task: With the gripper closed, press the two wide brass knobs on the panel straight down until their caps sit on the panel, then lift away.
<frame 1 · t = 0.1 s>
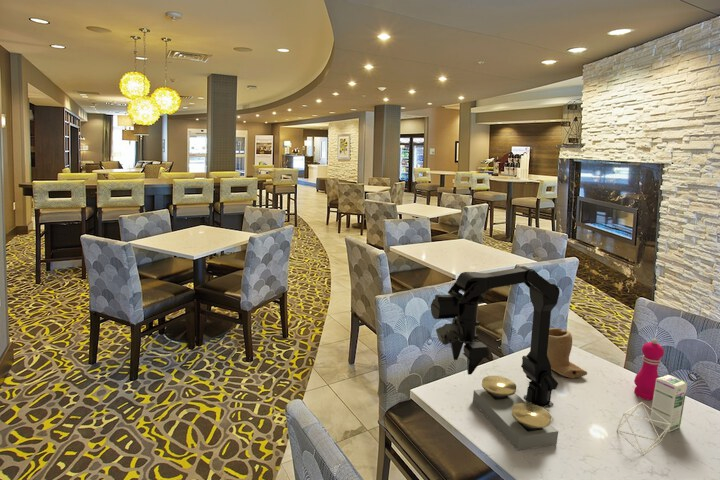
hand: (462, 366, 135), 15 cm above the table, tool pointing down, fingers open, 9 cm apart
knob 2: (530, 420, 125), point 5 cm above the table, slide at 0.0 cm
syrup box: (663, 425, 135), on the table
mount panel: (511, 421, 134), on the table
pepper mill: (644, 395, 152), on the table
knob 1: (498, 390, 140), point 5 cm above the table, slide at 0.0 cm
tan boot: (558, 370, 167), on the table
geometric polyhedron: (639, 442, 127), on the table
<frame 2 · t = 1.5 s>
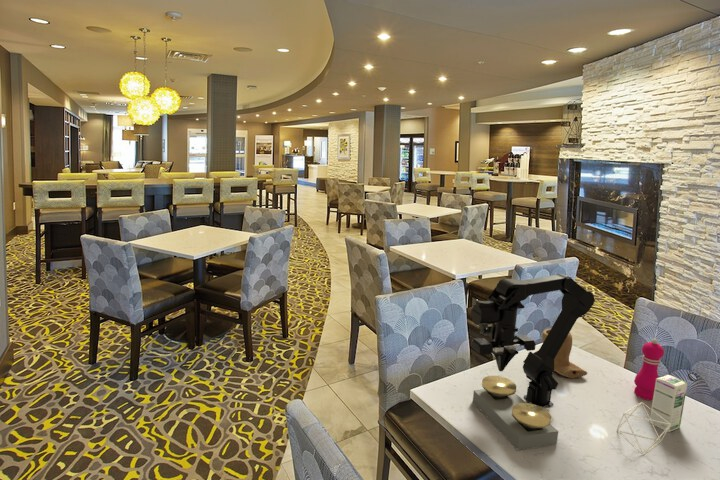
hand: (500, 370, 139), 12 cm above the table, tool pointing down, fingers closed
nothing on the table moved.
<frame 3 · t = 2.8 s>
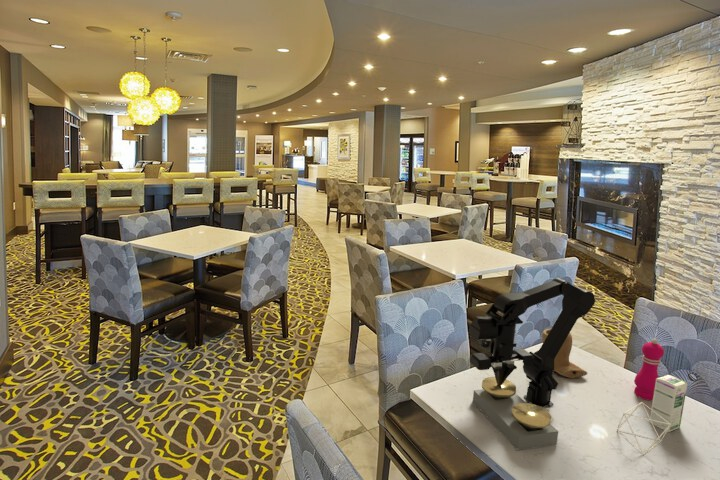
hand: (499, 385, 140), 7 cm above the table, tool pointing down, fingers closed, pressing on knob 1
knob 1: (498, 392, 140), point 5 cm above the table, slide at 0.5 cm, touching gripper
everything else where it was.
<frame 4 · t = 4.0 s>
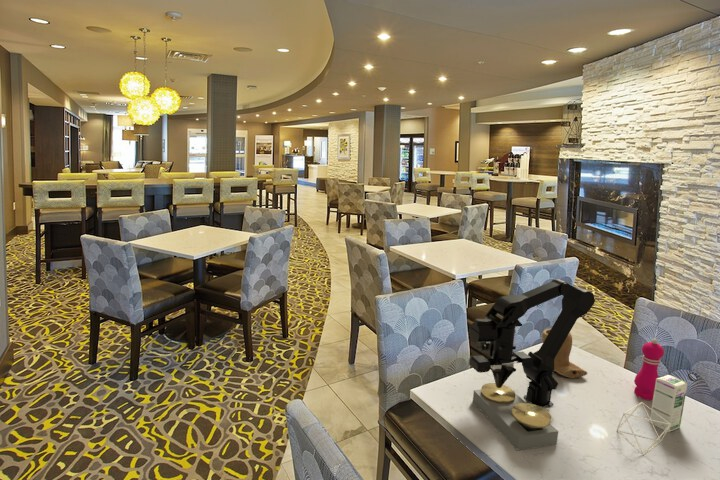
hand: (498, 387, 140), 6 cm above the table, tool pointing down, fingers closed
knob 1: (497, 398, 141), point 3 cm above the table, slide at 2.5 cm, touching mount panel
everything else where it was.
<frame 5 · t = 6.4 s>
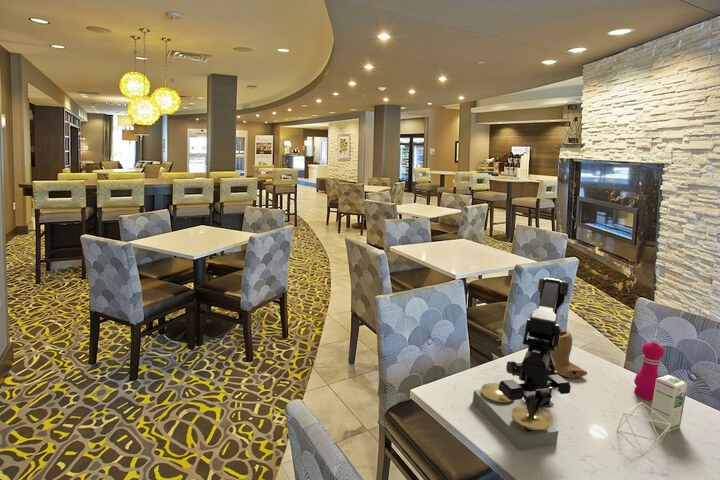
hand: (531, 415, 125), 7 cm above the table, tool pointing down, fingers closed, pressing on knob 2
knob 2: (530, 423, 125), point 5 cm above the table, slide at 0.8 cm, touching gripper
everything else where it was.
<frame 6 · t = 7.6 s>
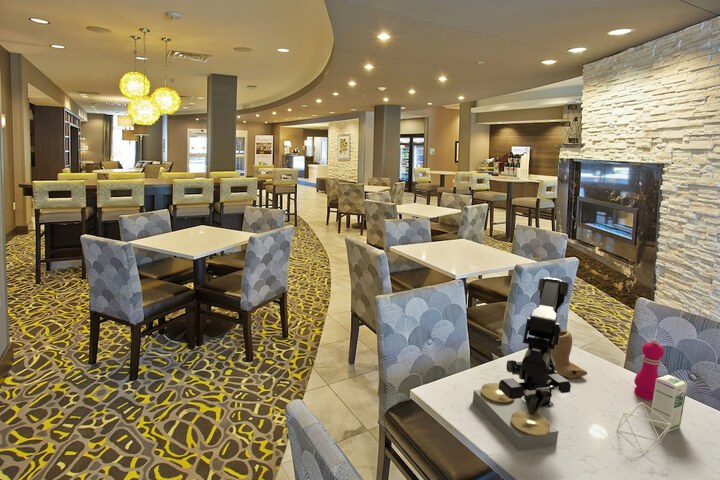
hand: (531, 414, 125), 7 cm above the table, tool pointing down, fingers closed
knob 2: (529, 428, 126), point 3 cm above the table, slide at 2.5 cm
everything else where it was.
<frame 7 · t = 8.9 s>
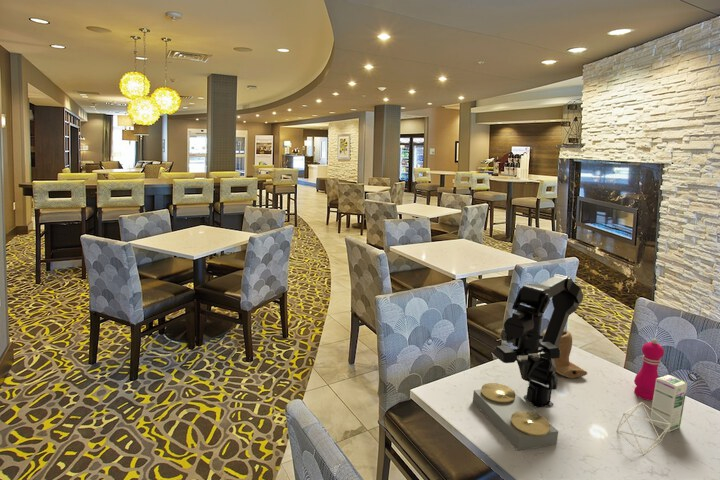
hand: (523, 379, 134), 12 cm above the table, tool pointing down, fingers closed
nothing on the table moved.
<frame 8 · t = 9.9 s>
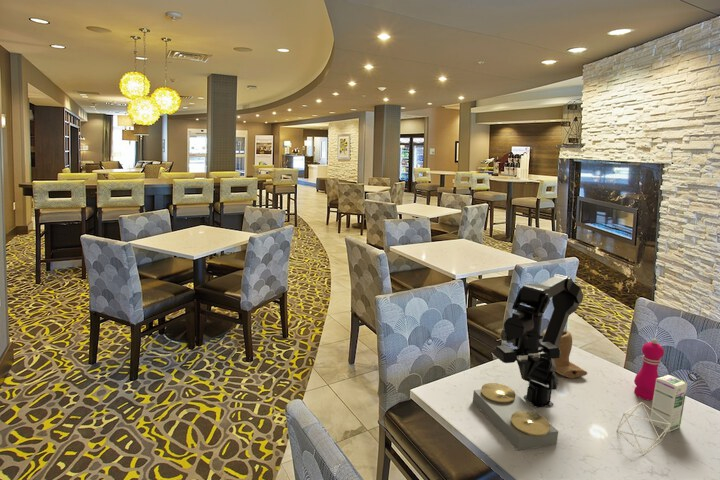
hand: (523, 379, 134), 12 cm above the table, tool pointing down, fingers closed
nothing on the table moved.
at the end: knob 1 slide at 2.5 cm; knob 2 slide at 2.5 cm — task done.
